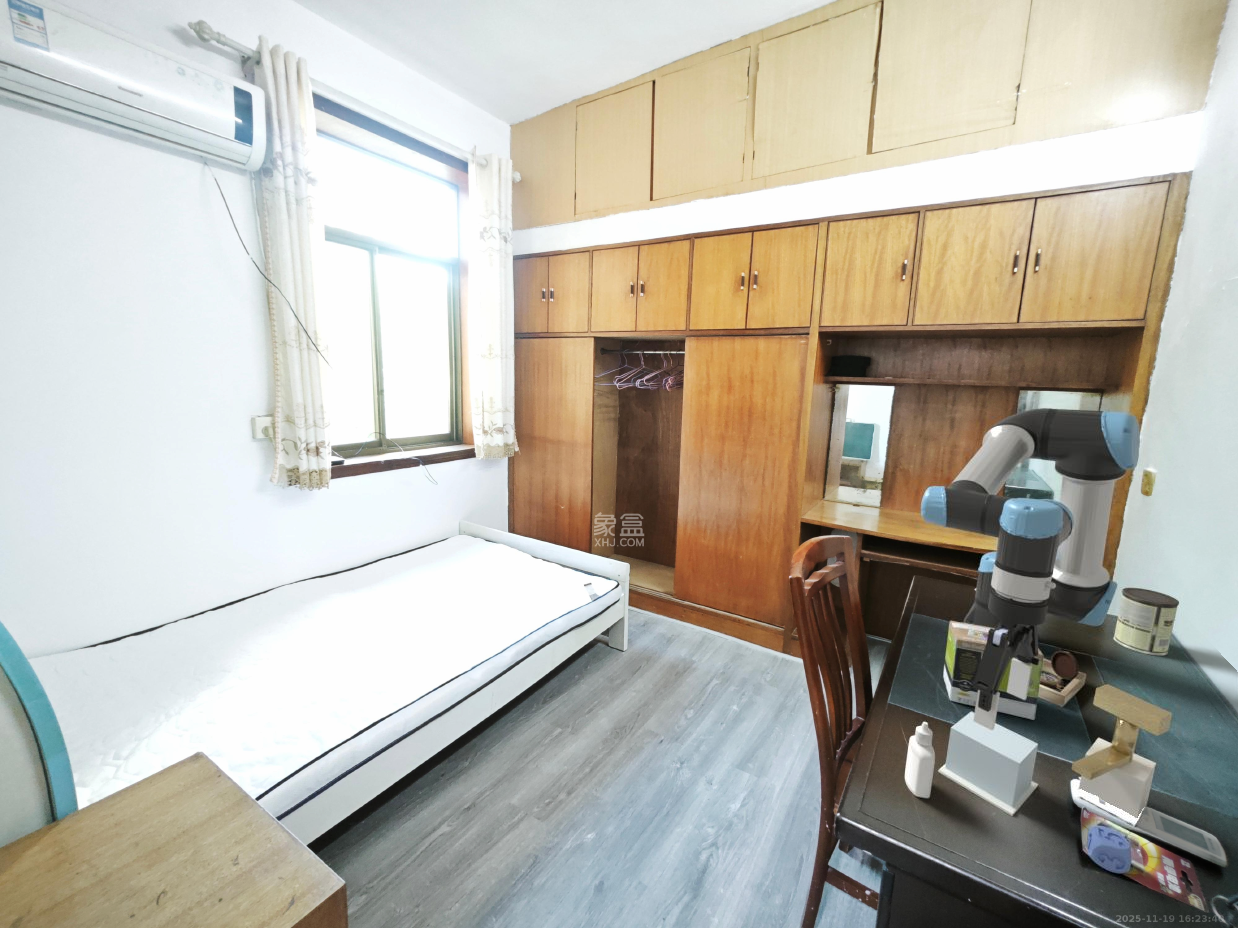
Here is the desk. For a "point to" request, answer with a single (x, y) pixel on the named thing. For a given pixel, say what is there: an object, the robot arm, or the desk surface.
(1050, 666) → the beige square frame
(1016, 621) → the robot arm
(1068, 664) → the compass
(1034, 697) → the tea box
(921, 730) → the eye dropper bottle
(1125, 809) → the white rectangular box
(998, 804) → the mat
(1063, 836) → the desk surface
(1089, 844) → the decorative dice
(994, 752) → the cover
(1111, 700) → the gold angular piece
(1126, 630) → the coffee can
